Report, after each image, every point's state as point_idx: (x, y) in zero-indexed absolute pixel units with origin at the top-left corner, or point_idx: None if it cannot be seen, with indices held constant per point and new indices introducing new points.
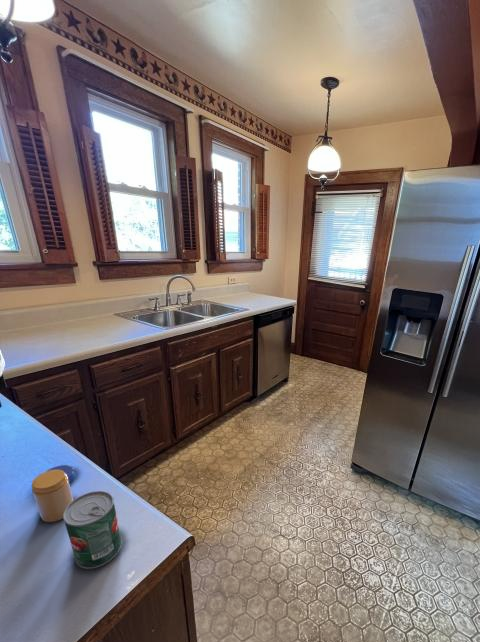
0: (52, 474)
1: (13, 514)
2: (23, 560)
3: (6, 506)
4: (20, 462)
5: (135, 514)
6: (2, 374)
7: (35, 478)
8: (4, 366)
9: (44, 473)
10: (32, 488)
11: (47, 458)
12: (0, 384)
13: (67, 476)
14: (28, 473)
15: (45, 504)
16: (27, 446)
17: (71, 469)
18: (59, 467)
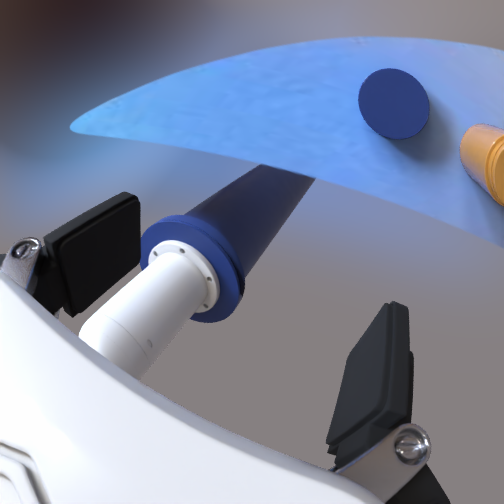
0: None
1: (429, 205)
2: None
3: (396, 203)
4: (257, 137)
5: None
6: (59, 236)
7: (499, 194)
8: (20, 304)
9: (499, 172)
10: (499, 203)
11: (283, 90)
12: (116, 229)
13: (421, 93)
14: (315, 137)
15: None
16: (202, 113)
17: (400, 74)
18: (369, 88)
